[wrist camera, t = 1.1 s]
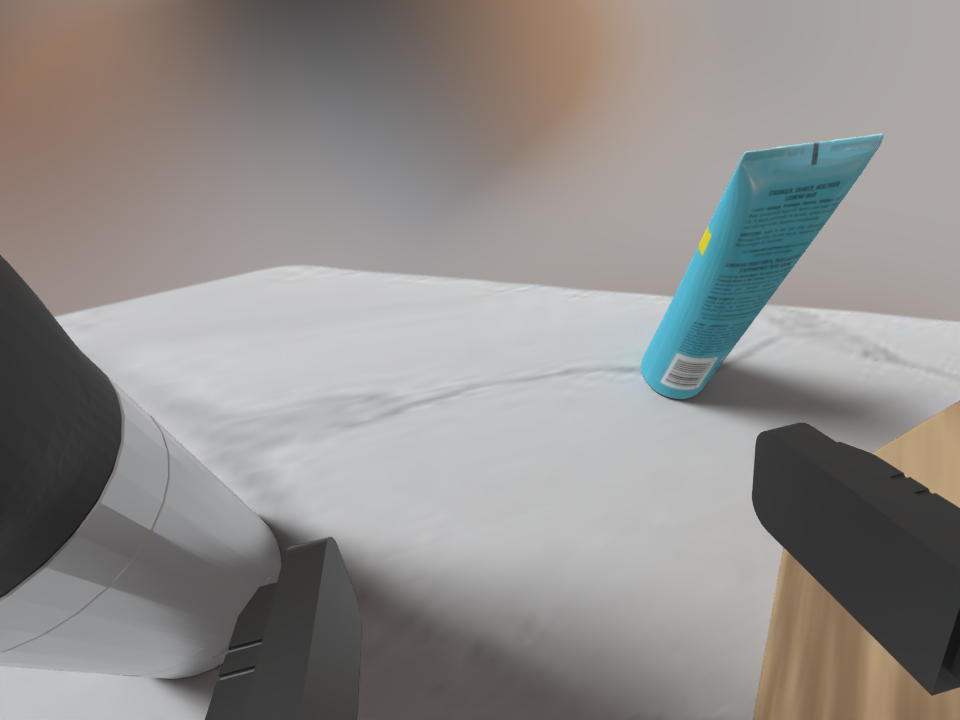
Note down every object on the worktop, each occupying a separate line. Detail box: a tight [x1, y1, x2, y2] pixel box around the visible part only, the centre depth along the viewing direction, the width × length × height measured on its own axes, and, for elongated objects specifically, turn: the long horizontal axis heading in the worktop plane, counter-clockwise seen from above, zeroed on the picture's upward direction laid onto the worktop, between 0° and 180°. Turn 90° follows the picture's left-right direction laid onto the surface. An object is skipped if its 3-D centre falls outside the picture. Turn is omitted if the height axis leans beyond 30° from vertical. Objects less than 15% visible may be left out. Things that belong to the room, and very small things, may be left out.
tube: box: [641, 134, 883, 399], centre depth 31 cm, size 7×5×19 cm, turn 110°
